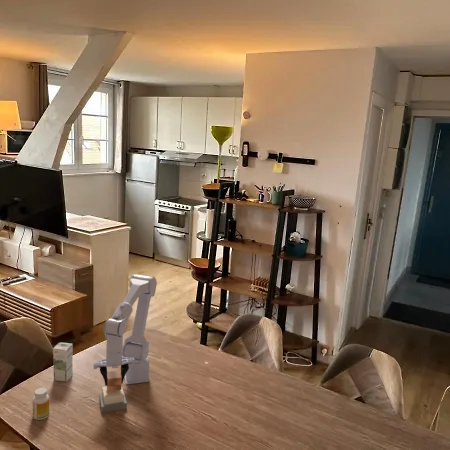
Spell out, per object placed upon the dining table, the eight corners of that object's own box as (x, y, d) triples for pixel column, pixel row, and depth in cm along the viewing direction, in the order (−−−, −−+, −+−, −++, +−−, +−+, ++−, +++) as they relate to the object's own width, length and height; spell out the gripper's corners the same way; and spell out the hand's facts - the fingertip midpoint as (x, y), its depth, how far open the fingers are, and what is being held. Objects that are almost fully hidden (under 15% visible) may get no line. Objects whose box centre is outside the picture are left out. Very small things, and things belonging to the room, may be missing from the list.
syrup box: (73, 374, 175) (73, 342, 173) (66, 382, 170) (66, 349, 167) (60, 373, 176) (59, 341, 173) (53, 381, 170) (52, 348, 167)
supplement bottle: (52, 413, 151) (52, 388, 149) (41, 422, 146) (41, 397, 144) (40, 409, 153) (40, 385, 151) (29, 417, 148) (28, 393, 146)
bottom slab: (123, 396, 165) (123, 389, 164) (126, 410, 156) (126, 403, 156) (99, 399, 161) (99, 392, 161) (101, 414, 153) (101, 406, 153)
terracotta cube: (119, 382, 161) (120, 370, 160) (121, 389, 156) (121, 377, 155) (106, 384, 159) (106, 372, 158) (107, 391, 154) (107, 379, 153)
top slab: (120, 390, 163) (120, 384, 162) (123, 401, 157) (124, 394, 156) (102, 394, 160) (102, 386, 159) (104, 404, 154) (104, 397, 153)
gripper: (94, 357, 148) (94, 392, 151) (135, 353, 153) (134, 386, 156) (93, 347, 155) (93, 381, 158) (133, 344, 160) (132, 376, 163)
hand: (113, 383), depth 157 cm, fingers closed on terracotta cube, 5 cm apart
